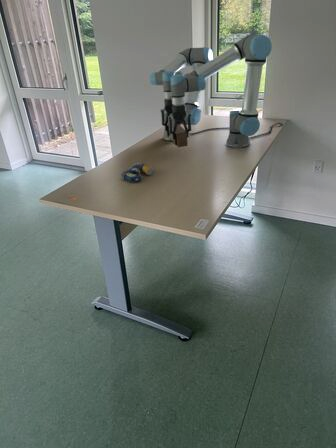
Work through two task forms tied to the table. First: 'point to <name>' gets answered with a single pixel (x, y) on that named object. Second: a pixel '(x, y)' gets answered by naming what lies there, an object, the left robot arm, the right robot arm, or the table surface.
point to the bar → (179, 135)
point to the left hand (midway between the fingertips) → (172, 134)
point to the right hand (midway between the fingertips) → (181, 143)
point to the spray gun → (136, 172)
